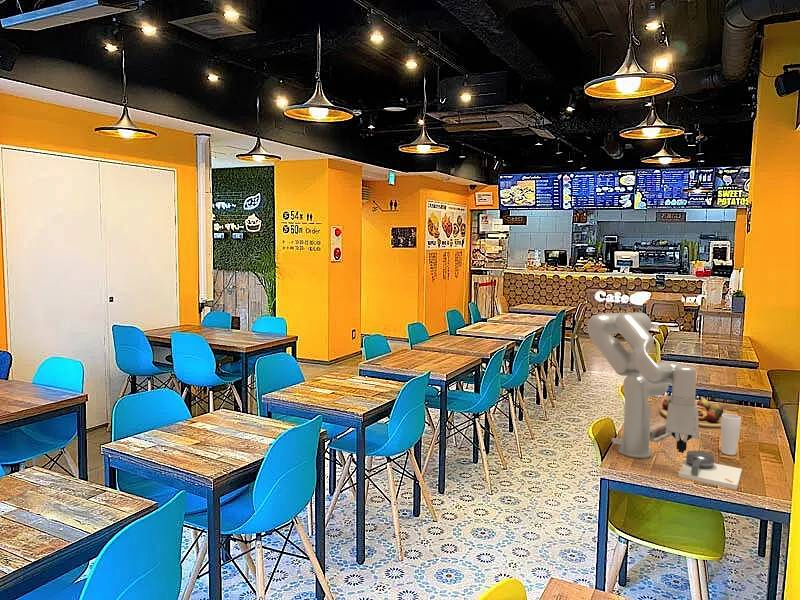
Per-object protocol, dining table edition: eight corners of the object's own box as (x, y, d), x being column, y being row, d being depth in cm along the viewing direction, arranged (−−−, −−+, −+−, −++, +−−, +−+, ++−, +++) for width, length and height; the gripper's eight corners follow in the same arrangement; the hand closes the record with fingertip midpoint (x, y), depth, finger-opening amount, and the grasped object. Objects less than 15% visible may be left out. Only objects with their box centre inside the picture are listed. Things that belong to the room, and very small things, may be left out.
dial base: (676, 476, 211) (677, 471, 211) (685, 461, 226) (685, 456, 226) (736, 489, 201) (737, 484, 201) (741, 472, 216) (742, 467, 216)
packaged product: (657, 432, 246) (633, 426, 254) (656, 443, 247) (633, 437, 254) (676, 423, 258) (654, 418, 265) (676, 434, 258) (653, 429, 266)
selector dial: (688, 457, 225) (688, 448, 224) (715, 463, 220) (715, 454, 219) (680, 472, 210) (680, 462, 210) (708, 478, 205) (709, 468, 205)
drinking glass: (720, 449, 240) (723, 412, 239) (740, 453, 236) (743, 415, 234) (716, 453, 235) (719, 416, 233) (736, 457, 231) (739, 419, 229)
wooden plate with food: (647, 417, 284) (648, 400, 283) (676, 404, 305) (678, 388, 304) (719, 435, 260) (721, 417, 259) (745, 421, 282) (747, 403, 281)
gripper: (658, 399, 213) (656, 450, 215) (705, 405, 205) (703, 458, 206) (662, 396, 220) (660, 445, 221) (708, 401, 211) (706, 452, 213)
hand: (681, 451), depth 214 cm, fingers closed
